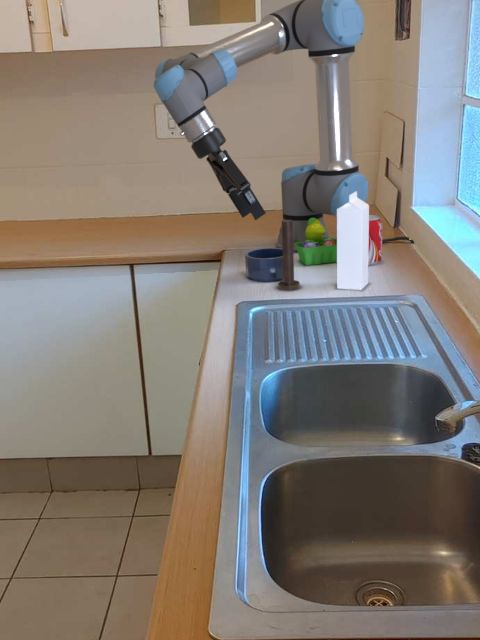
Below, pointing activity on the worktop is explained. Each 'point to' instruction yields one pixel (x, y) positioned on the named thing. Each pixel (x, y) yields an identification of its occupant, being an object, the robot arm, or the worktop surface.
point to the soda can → (375, 240)
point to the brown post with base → (288, 258)
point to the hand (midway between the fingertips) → (253, 215)
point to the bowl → (264, 264)
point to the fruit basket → (316, 245)
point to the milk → (352, 244)
